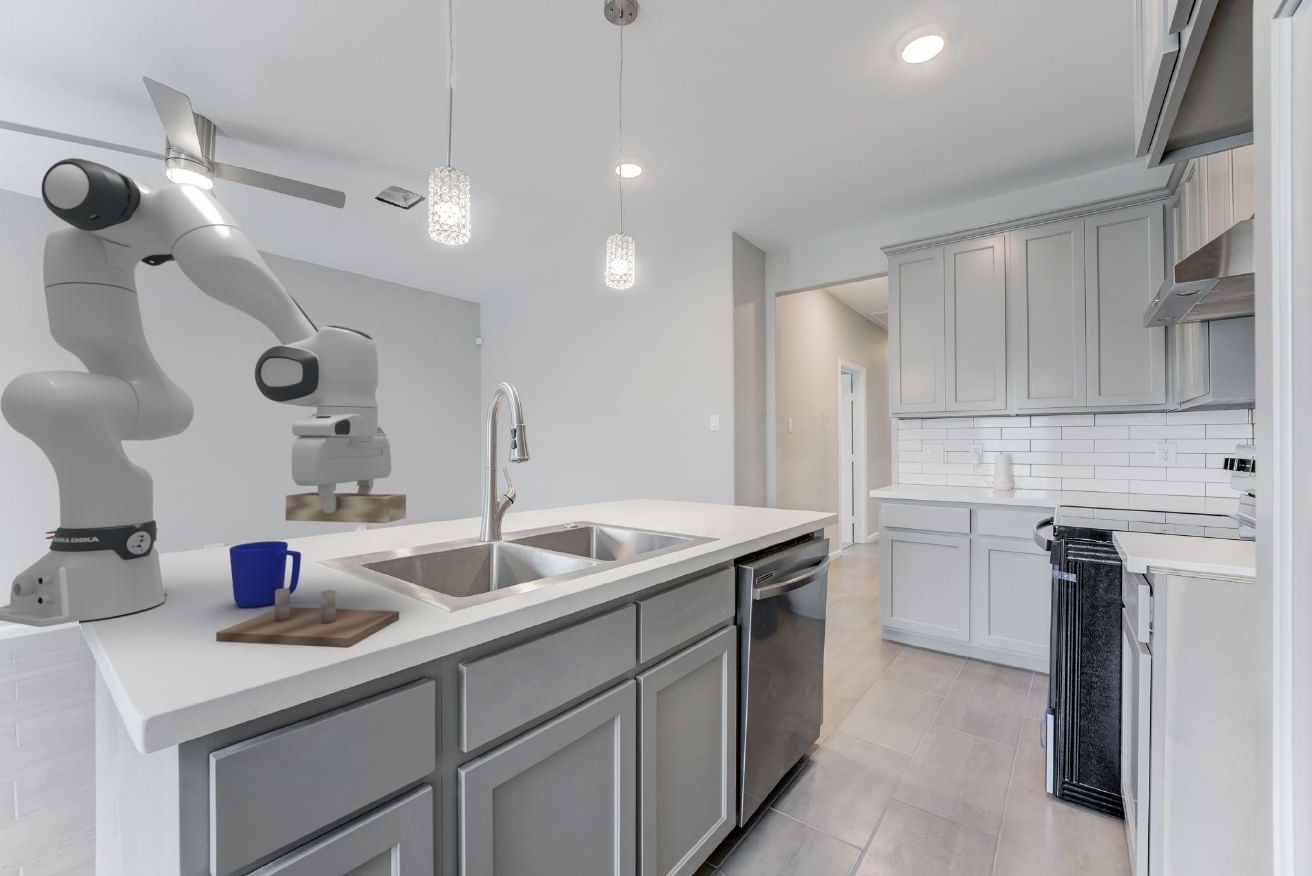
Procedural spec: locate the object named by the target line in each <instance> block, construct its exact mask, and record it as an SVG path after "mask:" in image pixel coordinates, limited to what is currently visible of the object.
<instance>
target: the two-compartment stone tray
mask: <svg viewBox="0 0 1312 876" xmlns="http://www.w3.org/2000/svg"><path fill="white" fill-rule="evenodd" d="M334 494H335V497H336V500H337V501H340V506H339V507H340V510H339V511H338V512H333V513H325V512H324V511H323V501H322V499H321V497H320V495H319V493H318V491H317V492H316V491H312V492H304V493H297V494H296V493H295V494H288V495H285V521H287V522H288V521H291V522H295V521H296V522H323V523H324V522H326V523H333V522H334V523H359V524H360V523H362V524H364V523H365V524H366V523H367V524H387V523H392V522H395V521H400V520H403V519H406V516H407V515H406V514H407V494H406V493H405V494H404V493H400V494H399V493H370V494H368V493H358V492H334Z"/></svg>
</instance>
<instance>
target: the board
mask: <svg viewBox="0 0 1312 876" xmlns="http://www.w3.org/2000/svg"><path fill="white" fill-rule="evenodd" d="M290 597H291V594H290V589H289V587H286V588H285V587H284V588H283V589H278V590H275V603H274V610H271V611H269V612H265V613H264V614H261V615H258V616H255V617H252V618H249V619H247V620H245V621H242V622H240V623H237V624H234V625H232V626H230V627H227V628H224V629H221V630H219V631H216V632H215V633H216V636H215V639H216V642H231V643H232V642H233V643H234V642H235V643H236V642H237V643H254V644H255V643H256V644H257V643H258V644H272V645H273V644H277V645H299V646H318V647H319V646H320V647H338V648H340V647H341V648H349V647H351V646H353V645H355V644H356V643H358V642H360V641H362V640H364V639H366V638H367V637H369V636H371V635H373V634H375V633H377V632H378V631H380V630H382V629H384V628H385V627H387V626H389V625H391V624H393V623H395V622H396V621H398V620H399V619H400V611H399V610H398V611H397V610H396V611H395V610H377V609H376V610H372V609H348V608H346V609H345V608H337V606H336V603H337V602H336V600H337V598H336V589H328V590H327V589H326V590H323V591H321V597H320V599H321V600H320V601H321V603H320V604H321V606H320V607H301V606H300V607H294V606H291V605H290V604H291V603H290Z"/></svg>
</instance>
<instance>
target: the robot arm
mask: <svg viewBox="0 0 1312 876" xmlns="http://www.w3.org/2000/svg"><path fill="white" fill-rule="evenodd" d="M41 196H42V200H43V202H44V204H45V205H46V207H47V208H48V210H49V211H50V212H51V213H52V214H54V215H55V216H56V217H58V218H59V219H61V220H62V221H63V222H65V223H67V224H69V225H64V226H60V227H57V228H55V229H54V230H52V231H51V232H49V233H48V234H47V236H46V239H45V245H44V250H43V251H44V252H43V264H42V265H43V267H42V271H43V272H42V273H43V276H42V277H43V288H44V289H43V290H44V296H45V302H46V303H45V304H46V310H47V317H48V318H47V319H48V324H49V325H48V326H49V333H50V335H51V337H52V340H54V341H55V343H57V344H58V346H60V347H61V348H63V349H64V350H66V351H68V352H69V353H71V354H72V355H73V356H75V357H76V358H77V359H78V360H79V361H80V362H81V363H82V364H83V366H84V367H85V368H86V370H87V371H88V372H83V371H77V370H76V371H75V370H67V369H65V370H63V369H62V370H47V371H35V372H34V371H33V372H32V371H31V372H25V373H23V374H20V375H18V376H16V377H15V378H13V380H11V381H10V382H9V383H8V384H7V385H6V387H5V388H4V389H3V392H2V395H1V397H0V411H1V413H2V416H3V418H4V419H5V421H6V422H7V424H8V425H9V426H10V428H12V429H13V430H14V431H16V432H18V433H19V434H21V435H22V436H24V437H25V438H27V439H29V440H30V441H31V442H33V443H34V444H35V445H36V446H37V447H38V448H39V449H40V450H41V451H42V452H43V454H44V455H45V456H46V457H47V458H46V459H48V461H49V462H50V465H51V466H52V468H53V470H54V473H55V476H56V479H57V480H56V481H57V485H58V495H59V515H60V516H59V517H60V518H59V519H60V520H59V521H60V526H59V527H57V528H56V530H54V531H53V530H51V531H46V532H45V534H46V535H47V534H54V535H50V536H47V537H45V539H46V540H52V541H51V543H50V546H49V550H50V551H49V552H48V553H46V554H45V555H44V556H42V557H41V558H40V559H38V560H37V561H36V562H34V563H33V564H32V565H30V566H29V567H28V568H26V569H25V570H23V571H22V572H20V573H19V574H17V575H16V577H14V579H13V580H12V583H11V587H10V588H11V590H10V598H9V599H10V601H9V604H7V605H4V606H3V605H2V606H0V621H2V622H8V623H13V624H18V625H26V626H31V627H37V628H43V627H45V628H46V627H51V626H53V627H54V626H56V625H63V624H69V623H77V622H83V621H93V620H99V619H105V618H112V617H116V616H123V615H126V614H131V613H135V612H140V611H144V610H147V609H150V608H153V607H156V606H159V605H161V604H163V603H164V602H165V601H166V600H167V599H166V595H167V594H168V590H167V587H163V579H162V571H161V563H160V557H159V556H160V555H159V552H158V550H157V549H156V548H155V545H154V544H155V542H156V541H157V538H158V537H157V536H158V535H157V532H158V527H157V522H156V520H154V480H153V477H152V475H151V474H150V472H148V471H147V469H144V468H143V467H140V466H139V465H136V464H135V463H133V462H132V461H131V460H130V459H129V457H128V456H127V454H126V453H125V451H124V447H123V443H122V441H155V440H160V439H164V438H170V437H172V436H177V435H180V434H182V433H183V432H185V431H186V430H187V428H188V427H189V426H190V425H191V423H192V421H193V418H194V414H195V411H194V409H195V408H194V403H193V400H192V399H191V396H190V395H189V394H188V392H187V391H186V390H185V389H183V388H181V387H180V386H179V385H177V384H176V383H175V382H174V381H173V380H172V379H171V378H170V377H169V376H168V375H167V374H166V373H165V372H164V369H162V367H161V366H160V365H159V363H158V362H157V360H156V358H155V356H154V355H153V353H152V351H151V349H150V347H149V345H148V342H147V341H148V340H147V339H146V335H145V331H144V327H143V321H142V316H141V309H140V305H139V304H140V302H139V296H138V291H137V284H136V278H135V277H136V276H135V270H136V267H137V265H138V264H139V263H140V262H143V263H144V264H146V265H147V266H152V267H156V266H157V267H158V266H161V265H163V264H165V263H167V262H174V261H175V262H176V264H177V265H178V267H179V268H180V270H181V271H182V273H183V274H184V276H185V277H186V278H187V279H189V281H191V283H192V284H194V285H195V287H197V288H198V289H199V290H200V291H201V292H202V293H203V294H205V295H206V296H208V297H211V298H212V299H215V300H216V301H219V302H221V303H222V304H225V305H228V306H230V307H232V308H234V309H237V310H239V311H240V312H242V313H244V314H247V315H248V316H249V317H251V318H254V319H255V320H257V321H259V323H261V324H263V325H264V326H266V328H267V329H269V331H271V332H272V333H273V335H275V337H276V338H277V340H278V341H279V342H280V343H281V345H276V346H272V347H270V348H269V349H267V350H265V351H264V352H263V353H262V354H261V355H260V356H259V358H258V360H257V362H256V364H255V368H254V379H255V383H256V386H257V388H258V390H259V391H260V393H261V394H262V395H263V396H264V397H265V398H266V399H268V400H271V401H273V402H276V403H279V404H282V405H283V404H284V405H290V406H291V405H292V406H296V407H297V406H298V407H307V408H309V407H310V408H316V413H312V414H311V415H309V416H307V417H305V418H301V419H298V420H296V421H294V422H293V423H292V426H291V427H292V430H291V431H292V435H293V436H296V438H295V440H294V441H293V443H292V449H291V450H292V451H291V477H292V480H293V481H294V483H295V485H297V486H299V487H302V486H303V487H317V492H318V493H319V495H320V497H321V499H322V501H323V511H324V512H325V513H333V512H338V511H339V510H340V507H339V506H340V501H337V500H336V497H335V494H334V493H335V492H334V491H337V484H342V483H343V484H344V483H350V482H356V486H358V489H357V493H368V494H371V492H372V489H373V488H374V480H377V479H386V478H389V476H390V475H391V472H392V456H391V454H392V453H391V446H390V445H391V444H390V442H389V440H388V438H387V434H386V433H385V432H384V430H383V428H382V427H380V426H378V423H379V422H378V421H379V420H378V415H379V412H378V409H379V408H378V407H379V406H378V403H377V399H376V398H377V397H376V391H377V387H378V385H379V364H378V363H379V361H378V354H377V353H378V351H377V347H376V343H375V341H374V339H373V338H372V337H371V336H370V335H369V334H368V333H365V332H363V331H359V330H357V329H352V328H350V327H345V326H339V325H325V326H322V327H321V328H320V329H319V330H318V328H317V326H315V325H316V324H314V323H313V322H312V320H311V319H310V317H309V316H308V315H307V314H306V312H305V311H304V310H303V309H302V307H301V306H300V305H299V303H298V302H297V301H296V299H294V297H292V296H291V294H290V293H289V292H288V290H287V289H286V288H285V287H284V286H283V284H282V282H281V281H280V280H279V279H278V277H277V276H276V275H275V274H274V273H273V271H272V270H271V269H270V268H269V266H268V265H267V263H266V261H265V260H264V259H263V257H262V256H261V255H260V253H259V252H258V250H257V249H256V248H255V246H254V244H253V243H252V242H251V240H250V239H249V237H248V236H247V234H246V233H245V231H244V230H243V228H242V227H241V226H240V224H239V222H237V220H236V219H235V218H234V216H232V214H231V213H230V212H229V210H228V209H226V207H225V206H224V205H223V204H222V203H221V202H220V201H219V200H218V199H217V198H216V197H215V196H214V195H213V194H212V193H211V192H210V191H208V190H206V188H205V189H204V188H203V187H201V186H199V185H196V184H192V183H189V182H187V183H186V182H177V183H171V184H168V185H164V186H163V187H161V188H159V189H156V188H154V187H152V186H151V185H149V184H148V183H145V182H142V181H138V180H137V179H134V178H132V177H129V176H127V175H125V174H123V173H121V172H119V171H117V170H115V169H113V168H111V167H109V166H107V165H105V164H101V163H98V162H95V161H91V160H86V159H83V158H76V157H74V158H65V159H62V160H59V161H57V162H55V163H54V164H53V165H52V166H50V167H49V169H48V170H47V171H46V172H45V174H44V175H43V178H42V181H41Z"/></svg>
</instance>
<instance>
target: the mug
mask: <svg viewBox="0 0 1312 876" xmlns="http://www.w3.org/2000/svg"><path fill="white" fill-rule="evenodd" d="M288 545H289V544H288V542H286V541H282V540H281V541H279V540H278V541H277V540H275V541H274V540H273V541H271V540H270V541H269V540H268V541H255V542H246V543H241V544H236V545H233V546H231V547H229V551H228V552H229V559H230V572H231V581H232V590H233V599H234V602H235V604H236V605H237V606H239V607H243V608H256V607H263V606H268V605H271V604H275V590H278V589H283V588H285V579H286V568H287V558H288V557H287V556H291V557H292V563H291V565H292V567H291V575H290V576H291V577H290V578H291V579H290V583H289V587H288V588H289V589H290V595H291V594H293V593H294V592H295V591H296V590H297V586H298V583H299V579H300V571H301V564H302V563H301V560H302V553H301V552H300V551H297V550H296V551H295V550H288V547H289V546H288Z"/></svg>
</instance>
